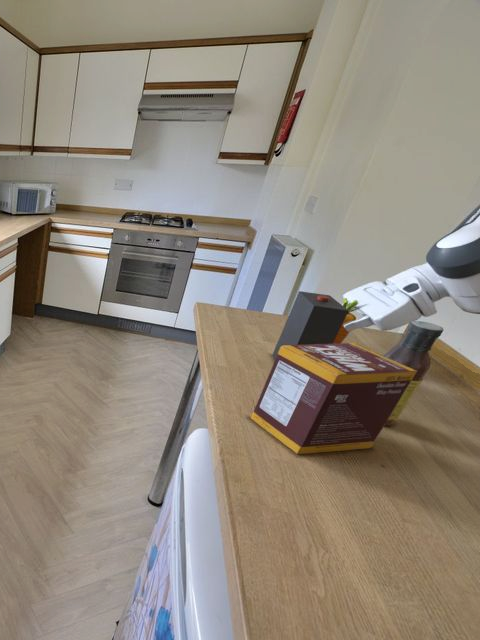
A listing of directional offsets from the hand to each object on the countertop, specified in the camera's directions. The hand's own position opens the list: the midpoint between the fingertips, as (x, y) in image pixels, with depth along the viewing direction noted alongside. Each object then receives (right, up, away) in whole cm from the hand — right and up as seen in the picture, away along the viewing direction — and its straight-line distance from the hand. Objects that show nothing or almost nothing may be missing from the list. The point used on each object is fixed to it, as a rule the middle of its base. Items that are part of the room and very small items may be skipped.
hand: (337, 322), depth 102 cm
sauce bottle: (-13, -20, -22) cm, 32 cm away
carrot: (0, -8, +4) cm, 9 cm away
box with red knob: (-9, -12, -6) cm, 17 cm away
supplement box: (-30, -22, -27) cm, 46 cm away
